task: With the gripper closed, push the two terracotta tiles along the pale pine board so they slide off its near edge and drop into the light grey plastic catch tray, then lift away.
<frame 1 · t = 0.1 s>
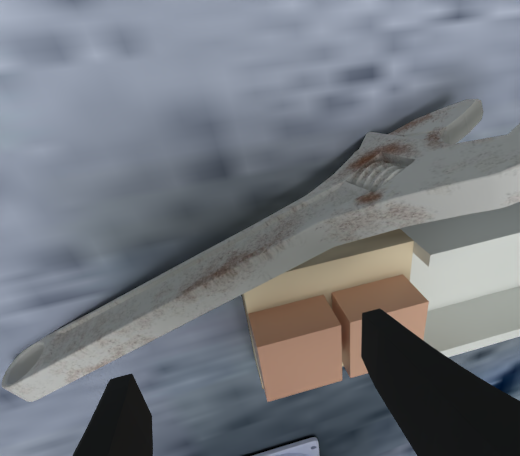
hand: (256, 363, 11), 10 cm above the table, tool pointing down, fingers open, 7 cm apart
board: (318, 294, 24), on the table
catch tray: (471, 255, 25), on the table
tile a: (366, 311, 22), point 2 cm above the table, touching board
wrench: (228, 232, 21), on the table
tile b: (289, 331, 22), point 2 cm above the table, touching board
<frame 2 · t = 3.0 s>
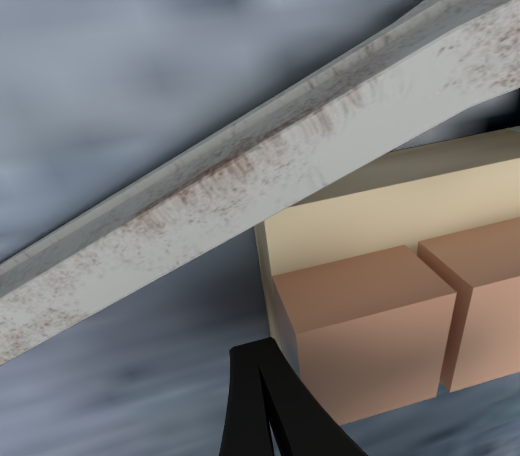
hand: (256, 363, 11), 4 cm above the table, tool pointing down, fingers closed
board: (377, 256, 15), on the table
tile a: (468, 279, 13), point 2 cm above the table, touching board
wrench: (232, 133, 12), on the table
tile b: (340, 312, 13), point 2 cm above the table, touching board, gripper
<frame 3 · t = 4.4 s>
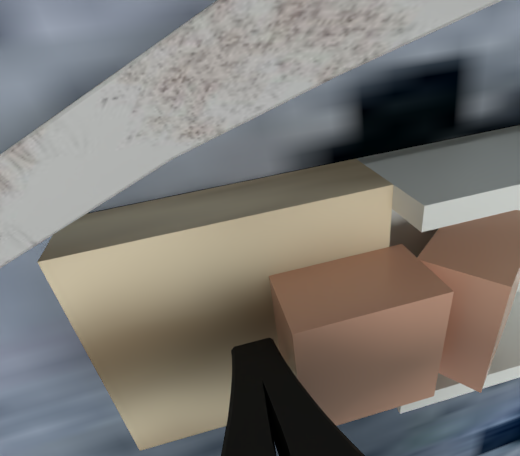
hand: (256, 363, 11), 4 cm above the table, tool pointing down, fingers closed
board: (237, 290, 14), on the table
catch tray: (493, 227, 16), on the table
tile a: (433, 277, 14), point 2 cm above the table, tilted 37°, touching catch tray, tile b
wrench: (35, 167, 11), on the table
tile b: (338, 311, 13), point 2 cm above the table, touching board, gripper, tile a
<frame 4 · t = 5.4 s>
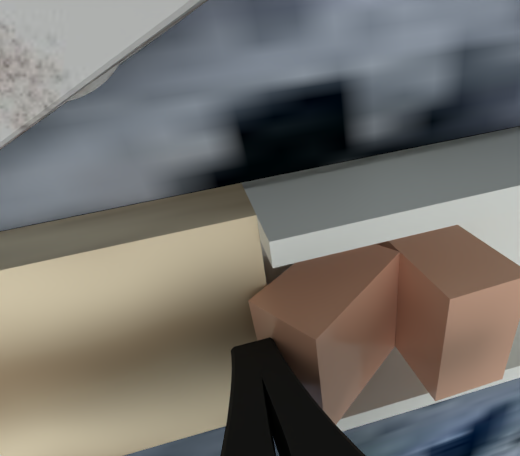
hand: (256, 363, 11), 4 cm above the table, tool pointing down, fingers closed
board: (132, 315, 14), on the table
catch tray: (405, 249, 15), on the table
tile a: (399, 306, 13), point 3 cm above the table, tilted 90°, touching catch tray, tile b
tile b: (302, 311, 13), point 2 cm above the table, tilted 33°, touching gripper, tile a
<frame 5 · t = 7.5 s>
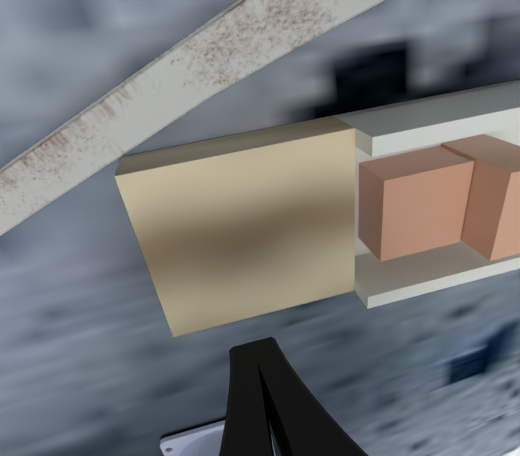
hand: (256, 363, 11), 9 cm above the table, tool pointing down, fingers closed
board: (245, 219, 19), on the table
catch tray: (442, 174, 20), on the table
tile a: (464, 199, 18), point 3 cm above the table, tilted 90°, touching catch tray
wrench: (101, 120, 16), on the table
tile b: (397, 193, 20), point 1 cm above the table, touching catch tray
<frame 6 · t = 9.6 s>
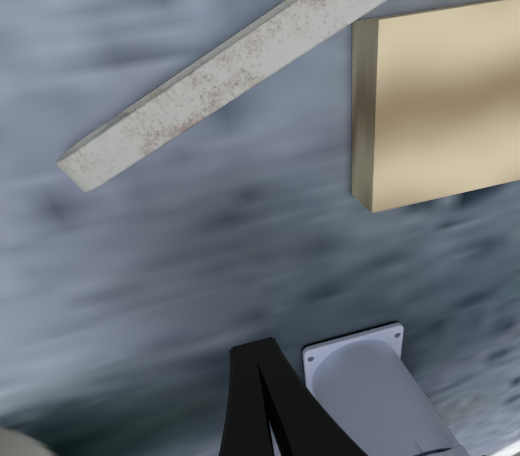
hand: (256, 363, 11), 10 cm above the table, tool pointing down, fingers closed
board: (437, 102, 20), on the table
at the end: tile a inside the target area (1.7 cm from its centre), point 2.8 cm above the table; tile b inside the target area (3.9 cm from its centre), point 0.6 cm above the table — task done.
